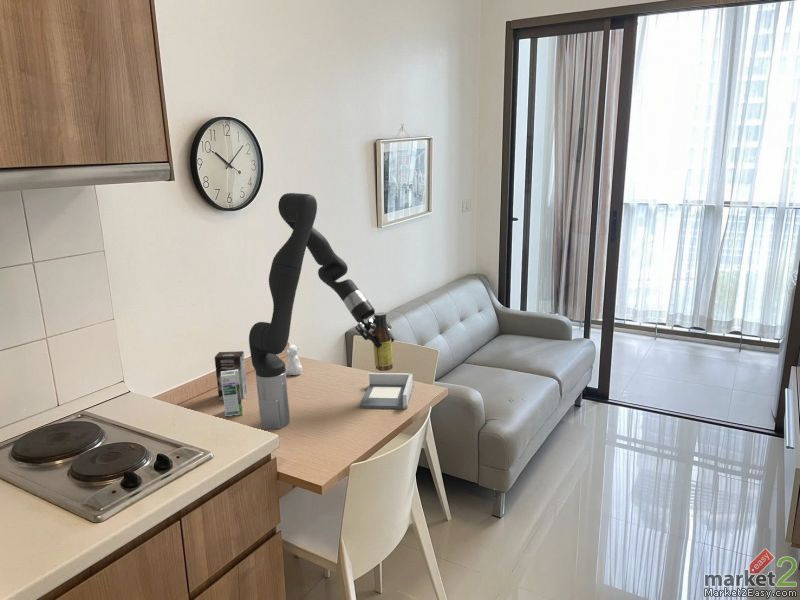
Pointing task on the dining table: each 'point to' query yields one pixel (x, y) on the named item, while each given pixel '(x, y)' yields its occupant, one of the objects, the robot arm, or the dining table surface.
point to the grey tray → (388, 391)
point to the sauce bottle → (383, 344)
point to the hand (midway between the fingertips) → (386, 343)
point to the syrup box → (231, 392)
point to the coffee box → (231, 362)
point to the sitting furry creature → (293, 361)
